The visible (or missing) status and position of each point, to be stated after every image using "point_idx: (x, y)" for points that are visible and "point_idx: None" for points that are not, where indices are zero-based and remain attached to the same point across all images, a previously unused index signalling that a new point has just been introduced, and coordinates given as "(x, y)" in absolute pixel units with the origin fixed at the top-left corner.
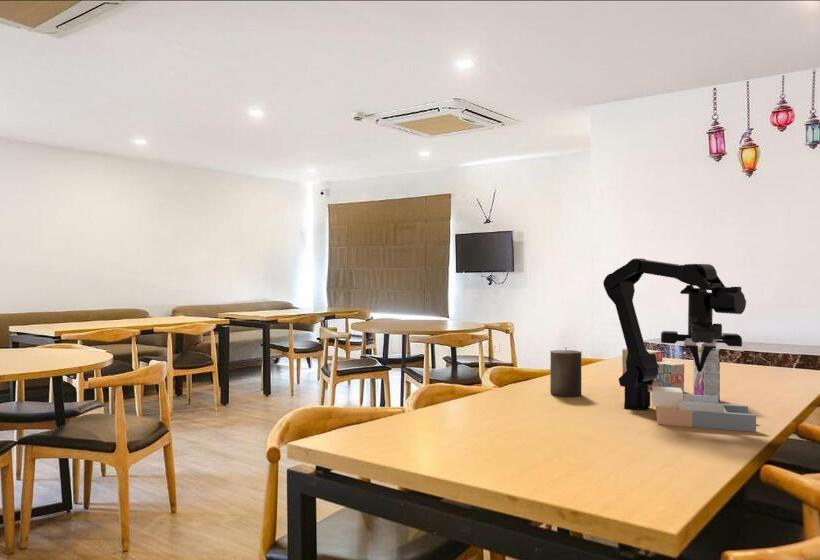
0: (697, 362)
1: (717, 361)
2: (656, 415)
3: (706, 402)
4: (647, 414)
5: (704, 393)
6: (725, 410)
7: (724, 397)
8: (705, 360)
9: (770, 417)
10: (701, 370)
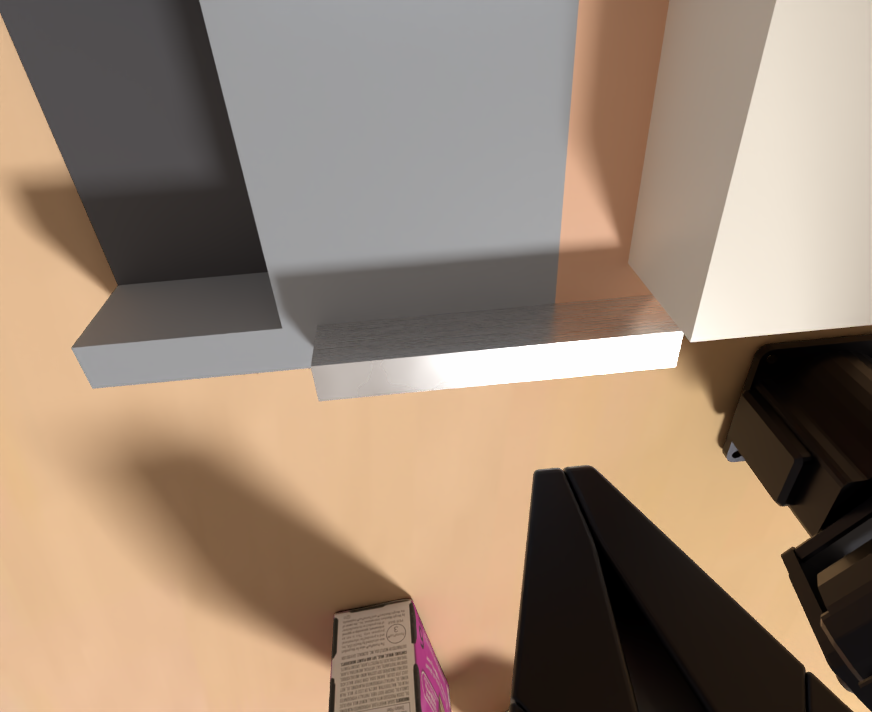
0: (687, 600)
1: None
2: None
3: (410, 324)
4: None
5: (408, 650)
6: (221, 60)
7: (320, 709)
8: (515, 684)
9: (35, 464)
10: (539, 482)
